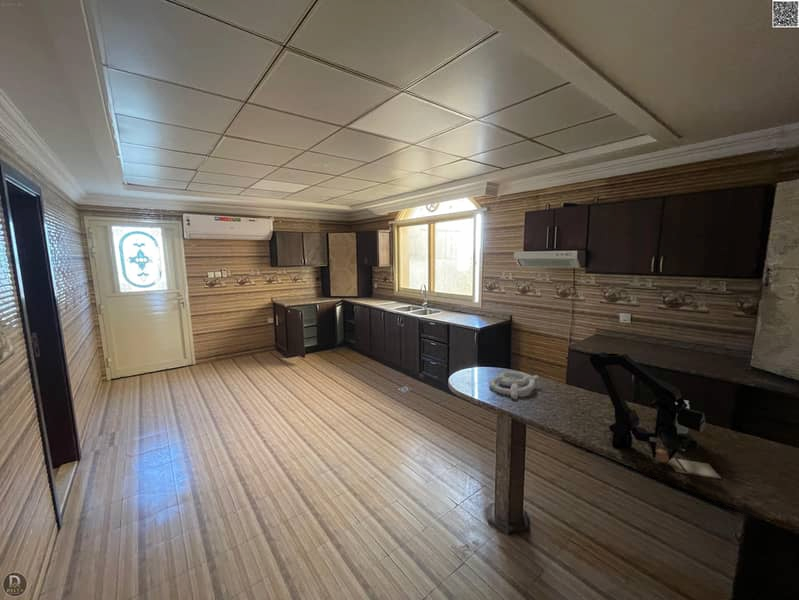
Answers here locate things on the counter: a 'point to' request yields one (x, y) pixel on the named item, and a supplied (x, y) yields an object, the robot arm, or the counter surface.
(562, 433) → the counter surface
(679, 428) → the candy box
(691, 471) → the board
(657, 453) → the ball
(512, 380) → the pretzel
